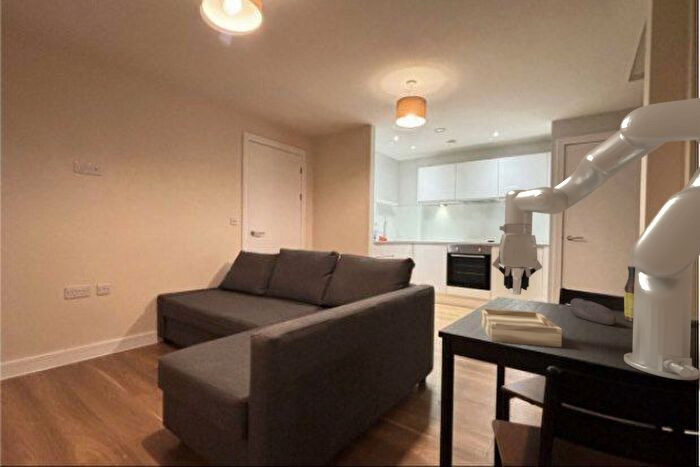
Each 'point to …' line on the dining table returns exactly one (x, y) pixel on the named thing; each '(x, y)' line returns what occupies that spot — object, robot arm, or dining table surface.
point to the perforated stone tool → (592, 311)
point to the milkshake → (516, 280)
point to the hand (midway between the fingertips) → (515, 288)
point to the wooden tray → (520, 327)
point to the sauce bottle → (629, 294)
